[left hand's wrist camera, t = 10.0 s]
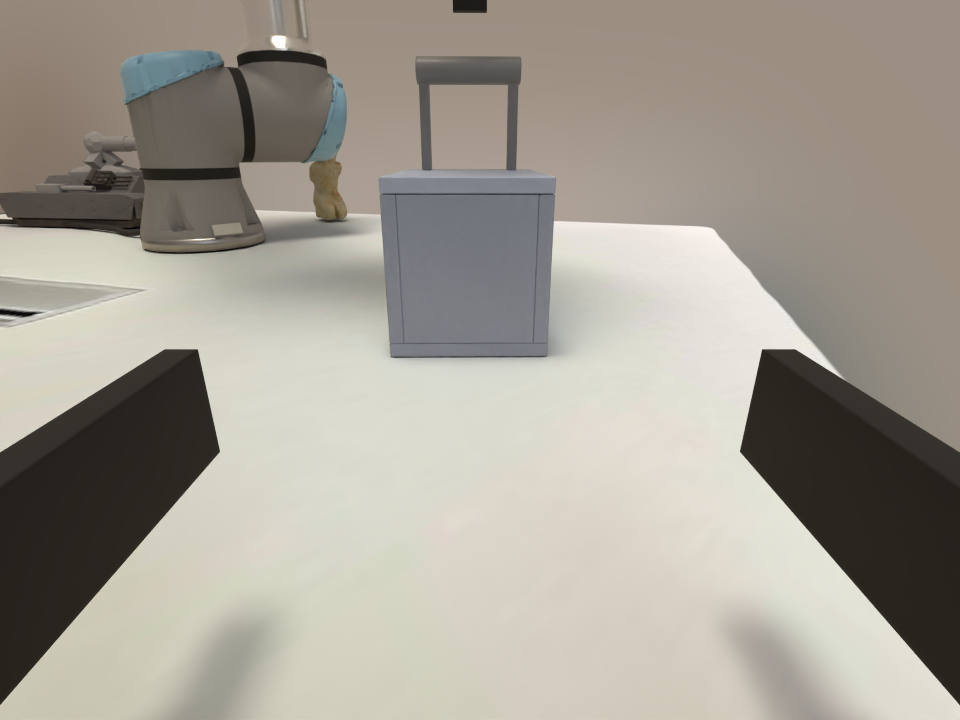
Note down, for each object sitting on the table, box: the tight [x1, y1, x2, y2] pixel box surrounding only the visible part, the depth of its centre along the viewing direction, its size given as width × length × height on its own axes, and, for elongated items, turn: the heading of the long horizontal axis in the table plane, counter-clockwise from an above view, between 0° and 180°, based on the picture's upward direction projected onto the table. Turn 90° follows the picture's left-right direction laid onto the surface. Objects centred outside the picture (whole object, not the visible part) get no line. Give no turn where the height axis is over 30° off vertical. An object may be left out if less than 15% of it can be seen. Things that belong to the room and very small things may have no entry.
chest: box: [380, 194, 555, 357], centre depth 37 cm, size 14×10×10 cm
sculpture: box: [309, 152, 347, 221], centre depth 94 cm, size 6×7×15 cm
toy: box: [0, 132, 145, 228], centre depth 93 cm, size 25×20×15 cm
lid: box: [379, 56, 556, 194], centre depth 34 cm, size 14×10×8 cm
